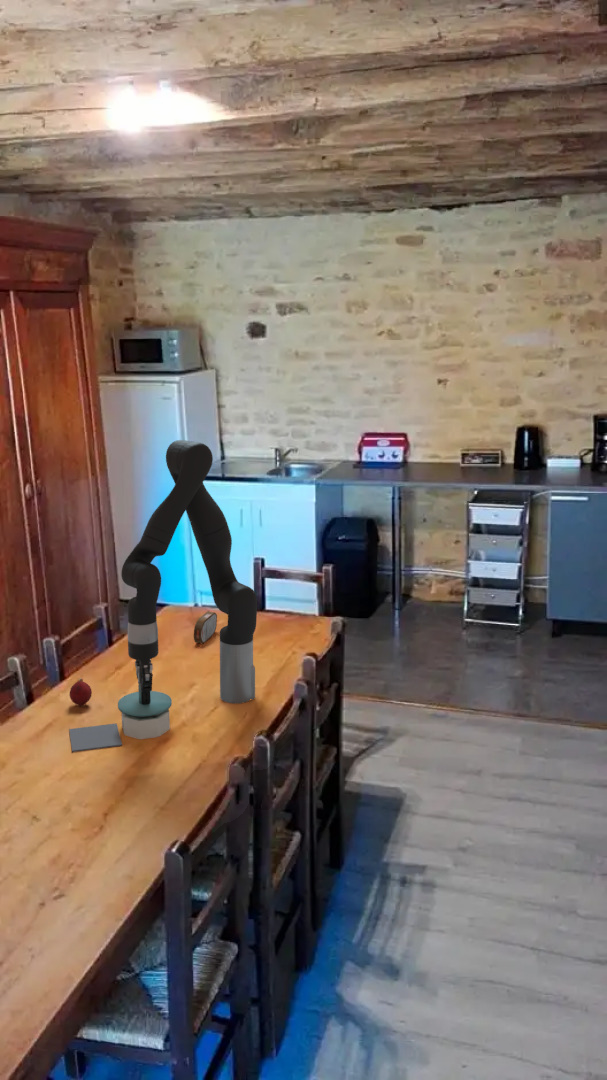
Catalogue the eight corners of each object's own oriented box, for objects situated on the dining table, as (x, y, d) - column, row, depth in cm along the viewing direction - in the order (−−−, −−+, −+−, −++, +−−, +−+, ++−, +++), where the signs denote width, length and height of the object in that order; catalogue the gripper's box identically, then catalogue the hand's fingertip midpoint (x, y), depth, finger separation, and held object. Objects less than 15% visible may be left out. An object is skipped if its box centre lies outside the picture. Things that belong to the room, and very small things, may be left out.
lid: (167, 691, 236) (166, 672, 234) (175, 712, 223) (175, 692, 222) (115, 697, 232) (114, 677, 230) (121, 719, 219) (120, 699, 218)
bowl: (164, 715, 236) (164, 698, 235) (171, 735, 225) (171, 717, 224) (120, 721, 233) (119, 703, 231) (125, 741, 222) (125, 722, 221)
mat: (116, 724, 231) (116, 723, 230) (122, 745, 220) (122, 744, 219) (69, 730, 227) (69, 729, 227) (72, 752, 216) (72, 750, 216)
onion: (86, 711, 238) (85, 684, 236) (66, 709, 239) (65, 682, 237) (95, 702, 243) (94, 675, 241) (76, 700, 244) (74, 673, 242)
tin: (210, 630, 299) (209, 607, 297) (218, 631, 298) (218, 608, 296) (192, 646, 285) (192, 621, 283) (201, 647, 284) (201, 622, 282)
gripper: (162, 646, 217) (163, 710, 222) (153, 627, 230) (155, 688, 235) (131, 649, 215) (133, 714, 219) (124, 629, 228) (126, 691, 232)
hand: (144, 700), depth 227 cm, fingers closed on lid, 3 cm apart
